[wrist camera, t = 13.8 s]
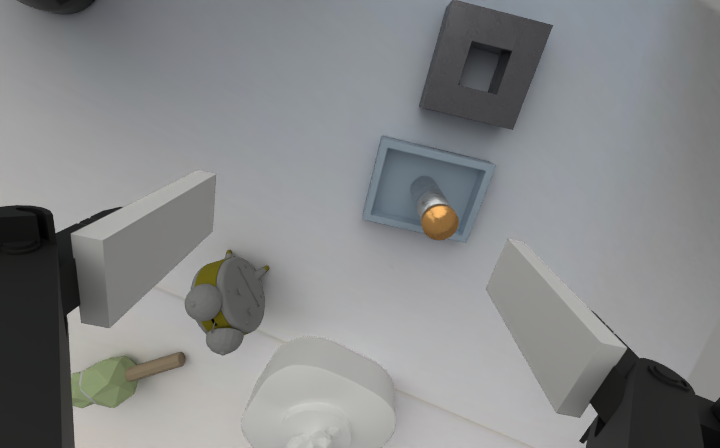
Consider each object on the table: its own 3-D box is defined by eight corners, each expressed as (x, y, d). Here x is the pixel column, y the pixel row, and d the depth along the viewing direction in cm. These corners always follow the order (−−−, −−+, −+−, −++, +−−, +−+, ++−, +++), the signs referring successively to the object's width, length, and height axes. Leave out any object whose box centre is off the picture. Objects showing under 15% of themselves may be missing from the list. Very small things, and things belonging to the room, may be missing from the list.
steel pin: (414, 173, 49) (428, 202, 36) (441, 179, 50) (463, 211, 37) (407, 198, 51) (417, 235, 38) (432, 204, 51) (451, 243, 38)
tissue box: (295, 320, 61) (268, 394, 46) (410, 378, 65) (420, 463, 50) (241, 405, 70) (204, 491, 55) (346, 451, 73) (339, 544, 58)
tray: (363, 212, 53) (362, 219, 50) (381, 135, 48) (382, 138, 46) (461, 235, 53) (466, 243, 51) (489, 161, 49) (495, 165, 46)
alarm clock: (218, 248, 56) (166, 299, 42) (255, 236, 55) (213, 285, 41) (249, 304, 60) (210, 369, 46) (283, 294, 59) (255, 357, 45)
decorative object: (168, 330, 62) (30, 372, 61) (169, 386, 58) (20, 432, 56) (192, 337, 70) (70, 374, 68) (195, 387, 66) (65, 428, 64)
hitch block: (418, 106, 47) (422, 107, 43) (446, 7, 42) (453, -1, 39) (501, 126, 47) (512, 129, 43) (537, 31, 43) (553, 25, 39)
